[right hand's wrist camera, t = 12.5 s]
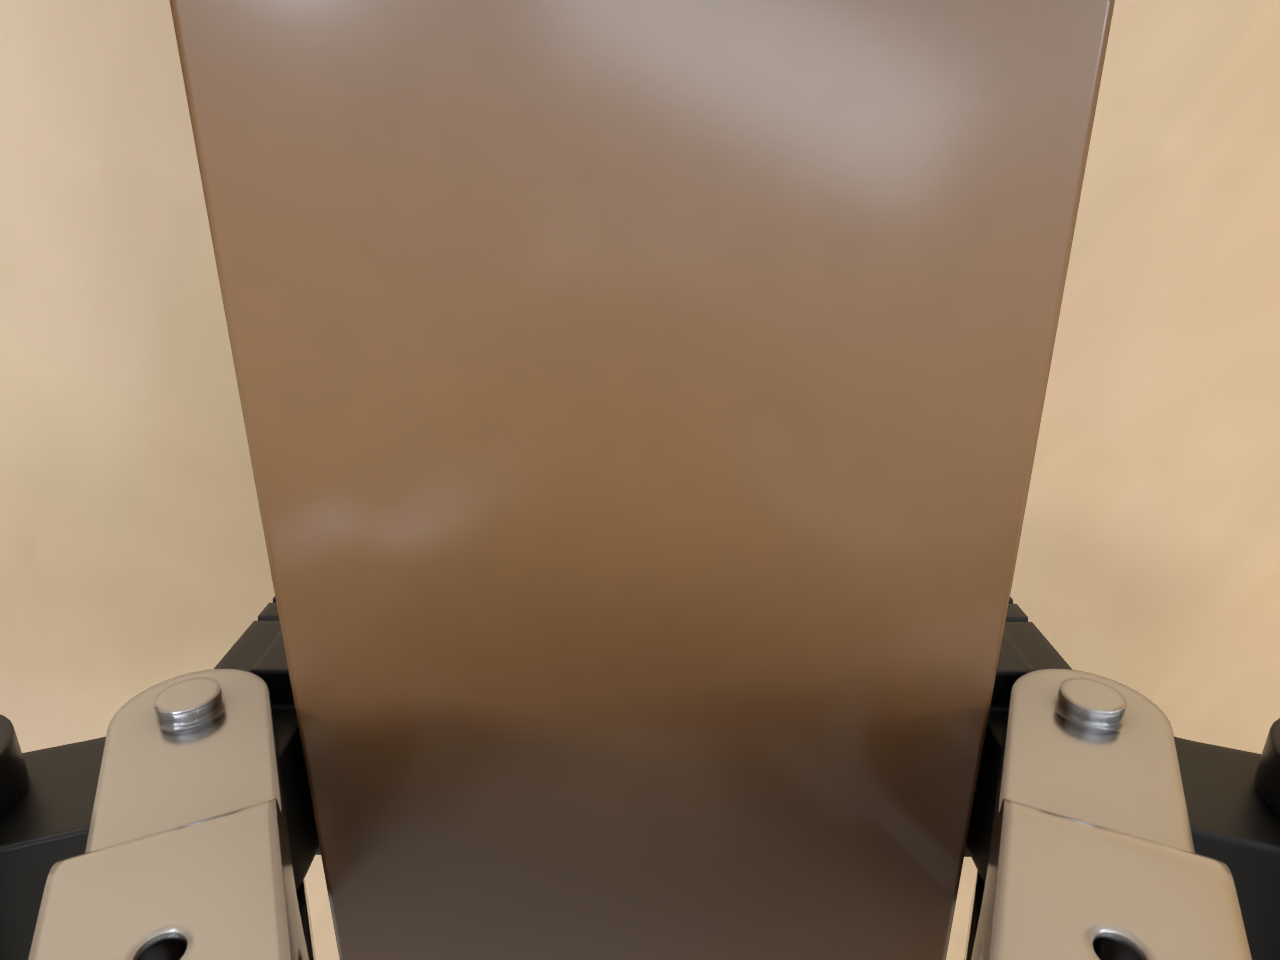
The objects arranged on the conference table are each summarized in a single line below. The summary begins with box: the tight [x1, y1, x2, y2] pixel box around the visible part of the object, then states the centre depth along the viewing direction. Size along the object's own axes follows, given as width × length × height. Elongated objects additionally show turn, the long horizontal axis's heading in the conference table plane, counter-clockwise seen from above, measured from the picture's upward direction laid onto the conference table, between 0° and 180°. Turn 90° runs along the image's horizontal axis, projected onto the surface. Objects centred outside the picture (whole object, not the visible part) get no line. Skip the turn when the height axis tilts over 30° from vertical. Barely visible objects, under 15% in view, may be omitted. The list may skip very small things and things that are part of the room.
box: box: [170, 0, 1115, 960], centre depth 10 cm, size 22×6×12 cm, turn 0°
